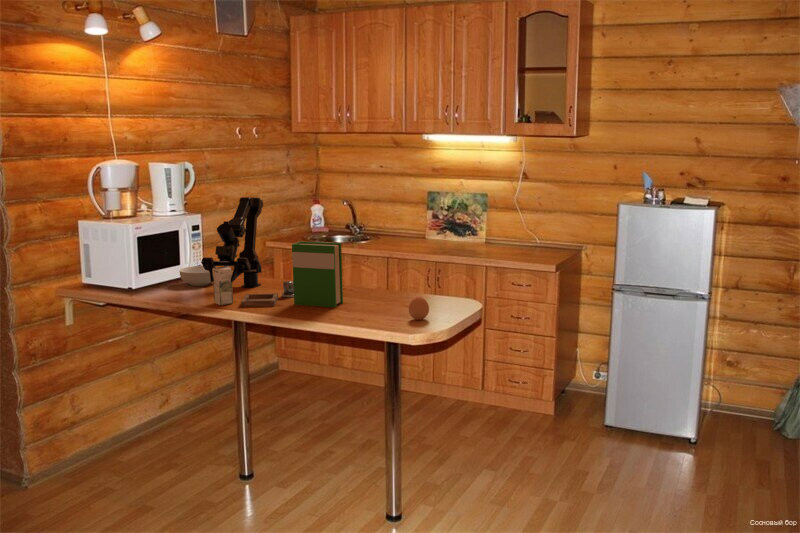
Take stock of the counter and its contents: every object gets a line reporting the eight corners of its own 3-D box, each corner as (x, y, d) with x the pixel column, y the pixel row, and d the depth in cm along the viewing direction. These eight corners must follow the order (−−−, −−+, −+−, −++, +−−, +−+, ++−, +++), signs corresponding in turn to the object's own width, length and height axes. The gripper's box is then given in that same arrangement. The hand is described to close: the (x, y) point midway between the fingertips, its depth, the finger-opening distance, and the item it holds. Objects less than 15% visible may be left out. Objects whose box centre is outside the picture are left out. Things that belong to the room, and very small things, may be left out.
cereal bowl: (191, 290, 334) (190, 274, 333) (173, 284, 346) (172, 269, 345) (226, 284, 345) (225, 268, 344) (208, 279, 358) (207, 263, 356)
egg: (429, 317, 283) (429, 294, 281) (429, 322, 276) (428, 298, 274) (409, 317, 283) (408, 294, 282) (408, 322, 276) (408, 298, 275)
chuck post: (286, 294, 324) (285, 280, 323) (299, 295, 321) (298, 280, 320) (279, 297, 318) (278, 282, 317) (291, 298, 316) (291, 283, 315)
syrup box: (227, 301, 312) (225, 265, 310) (233, 303, 308) (231, 267, 305) (214, 303, 309) (211, 267, 306) (220, 306, 304) (218, 269, 302)
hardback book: (343, 303, 306) (341, 243, 302) (335, 307, 300) (333, 246, 295) (302, 300, 312) (300, 241, 308) (294, 304, 305) (291, 244, 301)
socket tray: (246, 299, 315) (246, 294, 315) (278, 298, 316) (277, 293, 315) (241, 307, 302) (241, 301, 302) (274, 306, 303) (274, 300, 303)
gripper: (201, 237, 309) (192, 270, 300) (246, 237, 306) (238, 270, 297) (210, 253, 318) (201, 285, 309) (254, 254, 315) (246, 286, 307)
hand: (221, 281), depth 305 cm, fingers closed on syrup box, 8 cm apart
